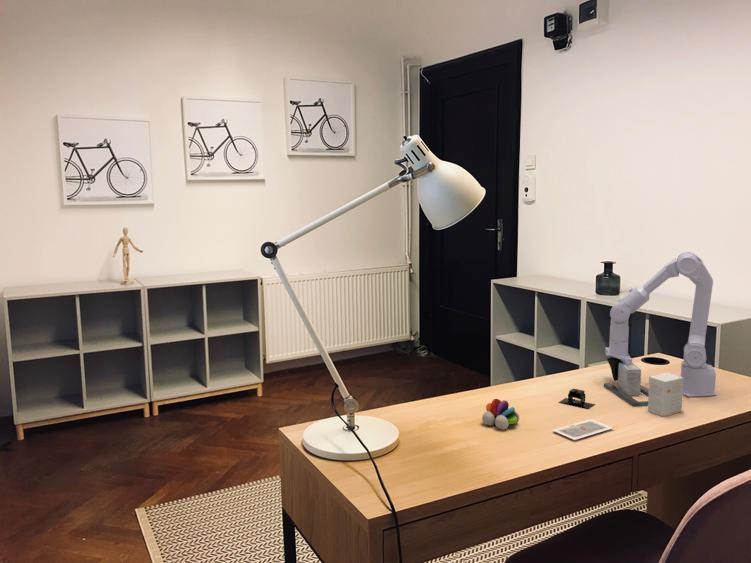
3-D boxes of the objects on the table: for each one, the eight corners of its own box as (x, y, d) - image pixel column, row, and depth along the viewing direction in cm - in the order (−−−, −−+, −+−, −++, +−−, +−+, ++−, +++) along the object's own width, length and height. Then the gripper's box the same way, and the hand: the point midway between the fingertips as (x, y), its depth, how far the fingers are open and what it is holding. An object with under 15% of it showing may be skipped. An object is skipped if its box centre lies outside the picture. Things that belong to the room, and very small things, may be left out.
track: (635, 385, 212) (635, 381, 211) (667, 404, 193) (667, 401, 193) (603, 386, 210) (603, 383, 210) (633, 406, 192) (633, 403, 192)
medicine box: (640, 396, 201) (641, 369, 200) (626, 396, 201) (627, 369, 200) (631, 387, 209) (632, 362, 208) (617, 388, 209) (618, 362, 208)
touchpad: (613, 431, 175) (613, 424, 174) (574, 443, 167) (574, 435, 167) (590, 422, 181) (590, 415, 181) (552, 434, 174) (552, 426, 174)
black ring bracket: (552, 404, 197) (552, 389, 196) (562, 397, 202) (562, 383, 202) (591, 413, 189) (592, 398, 188) (601, 406, 194) (601, 391, 194)
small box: (665, 406, 192) (667, 372, 190) (682, 412, 187) (684, 377, 185) (646, 411, 188) (648, 376, 187) (663, 417, 183) (665, 381, 182)
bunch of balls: (495, 416, 186) (495, 392, 185) (524, 424, 180) (524, 399, 178) (477, 424, 181) (477, 399, 179) (506, 433, 174) (507, 407, 173)
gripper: (597, 335, 217) (595, 374, 219) (617, 346, 203) (616, 387, 205) (617, 334, 218) (615, 373, 220) (639, 345, 204) (637, 386, 206)
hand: (617, 380), depth 212 cm, fingers closed
